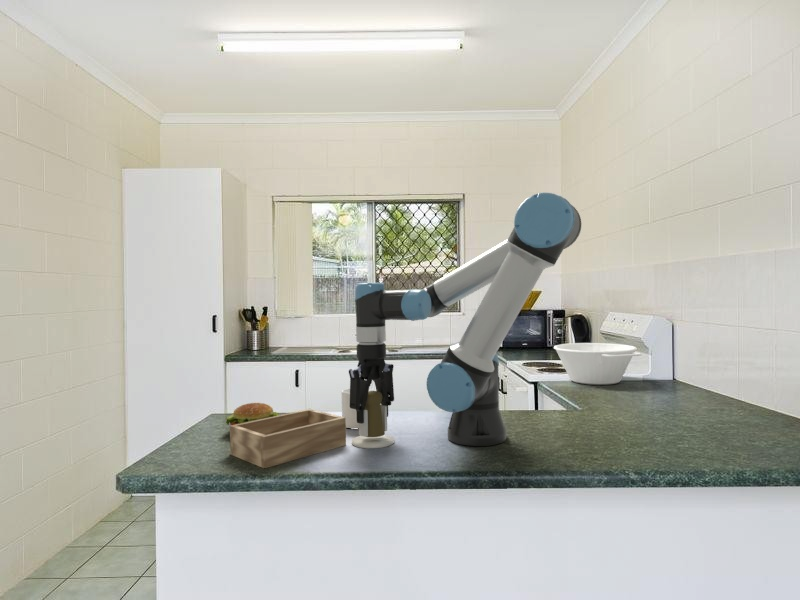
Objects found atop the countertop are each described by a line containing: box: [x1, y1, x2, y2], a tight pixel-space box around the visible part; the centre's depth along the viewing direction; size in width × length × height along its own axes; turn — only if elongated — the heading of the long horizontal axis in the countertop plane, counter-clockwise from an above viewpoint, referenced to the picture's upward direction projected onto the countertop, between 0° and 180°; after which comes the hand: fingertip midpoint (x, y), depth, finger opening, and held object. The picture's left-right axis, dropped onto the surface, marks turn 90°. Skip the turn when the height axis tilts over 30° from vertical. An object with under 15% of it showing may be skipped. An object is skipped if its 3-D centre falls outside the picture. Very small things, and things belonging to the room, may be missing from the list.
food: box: [225, 402, 279, 426], centre depth 150 cm, size 14×14×8 cm
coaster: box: [351, 434, 396, 450], centre depth 137 cm, size 11×11×1 cm
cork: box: [364, 390, 386, 437], centre depth 137 cm, size 6×6×11 cm
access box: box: [229, 408, 347, 469], centre depth 132 cm, size 15×23×7 cm, turn 135°
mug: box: [341, 388, 371, 428], centre depth 152 cm, size 12×8×10 cm
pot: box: [553, 342, 642, 386], centre depth 217 cm, size 40×32×14 cm
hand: (373, 432), depth 137 cm, fingers closed on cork, 6 cm apart
